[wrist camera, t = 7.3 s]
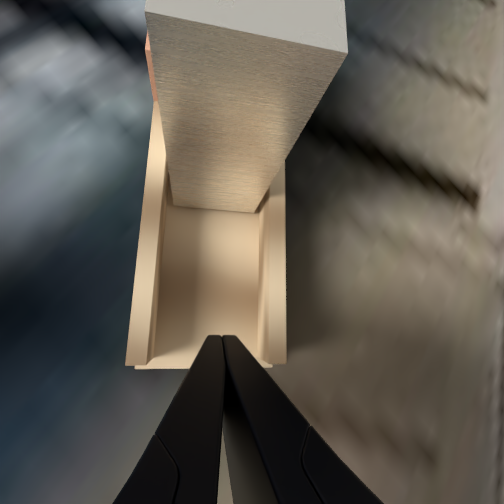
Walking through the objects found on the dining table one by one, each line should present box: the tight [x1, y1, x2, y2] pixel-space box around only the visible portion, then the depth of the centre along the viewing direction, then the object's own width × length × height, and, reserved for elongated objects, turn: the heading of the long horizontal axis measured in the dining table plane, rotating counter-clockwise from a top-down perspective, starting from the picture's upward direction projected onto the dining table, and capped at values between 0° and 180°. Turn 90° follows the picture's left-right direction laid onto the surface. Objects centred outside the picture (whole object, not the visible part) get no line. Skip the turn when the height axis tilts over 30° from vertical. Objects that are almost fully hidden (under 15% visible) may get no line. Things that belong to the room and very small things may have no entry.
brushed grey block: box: [145, 0, 348, 213], centre depth 12 cm, size 9×4×10 cm, turn 179°
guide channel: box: [125, 101, 286, 369], centre depth 16 cm, size 19×7×3 cm, turn 179°
